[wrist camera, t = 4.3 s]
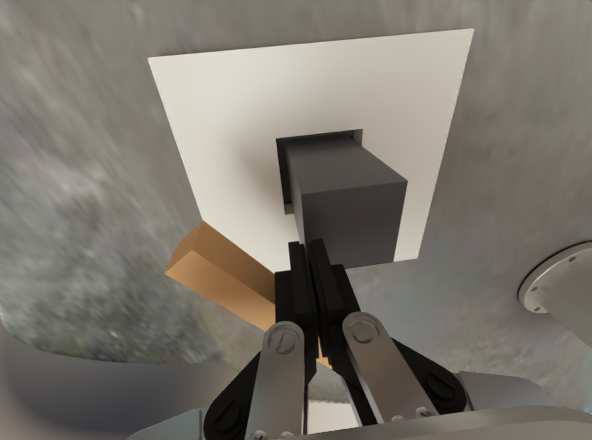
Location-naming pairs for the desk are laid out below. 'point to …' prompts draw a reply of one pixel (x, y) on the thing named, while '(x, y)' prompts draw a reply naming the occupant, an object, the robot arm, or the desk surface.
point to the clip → (227, 277)
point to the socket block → (309, 124)
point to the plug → (345, 199)
